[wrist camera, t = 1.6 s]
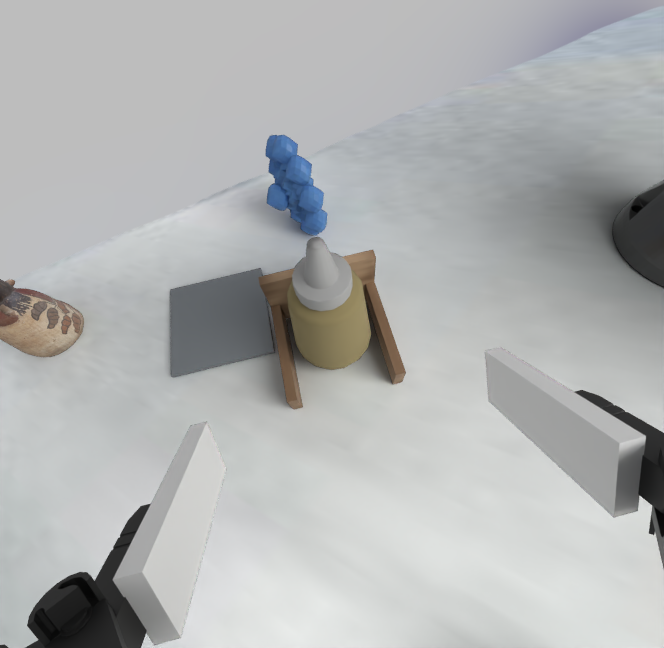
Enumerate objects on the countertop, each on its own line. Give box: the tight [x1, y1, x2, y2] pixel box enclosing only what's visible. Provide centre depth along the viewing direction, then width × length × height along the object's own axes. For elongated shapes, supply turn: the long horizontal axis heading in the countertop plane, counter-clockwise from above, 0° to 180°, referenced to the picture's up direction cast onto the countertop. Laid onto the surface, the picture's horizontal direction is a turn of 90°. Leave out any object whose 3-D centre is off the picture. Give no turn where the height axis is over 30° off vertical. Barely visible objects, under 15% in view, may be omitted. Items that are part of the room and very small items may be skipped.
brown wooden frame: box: [258, 250, 406, 409], centre depth 34 cm, size 12×12×8 cm
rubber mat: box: [170, 268, 275, 377], centre depth 40 cm, size 12×12×1 cm
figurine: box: [0, 279, 84, 357], centre depth 36 cm, size 7×7×12 cm
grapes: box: [266, 135, 327, 235], centre depth 41 cm, size 12×7×12 cm, turn 32°
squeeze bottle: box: [287, 237, 371, 370], centre depth 30 cm, size 8×8×18 cm
